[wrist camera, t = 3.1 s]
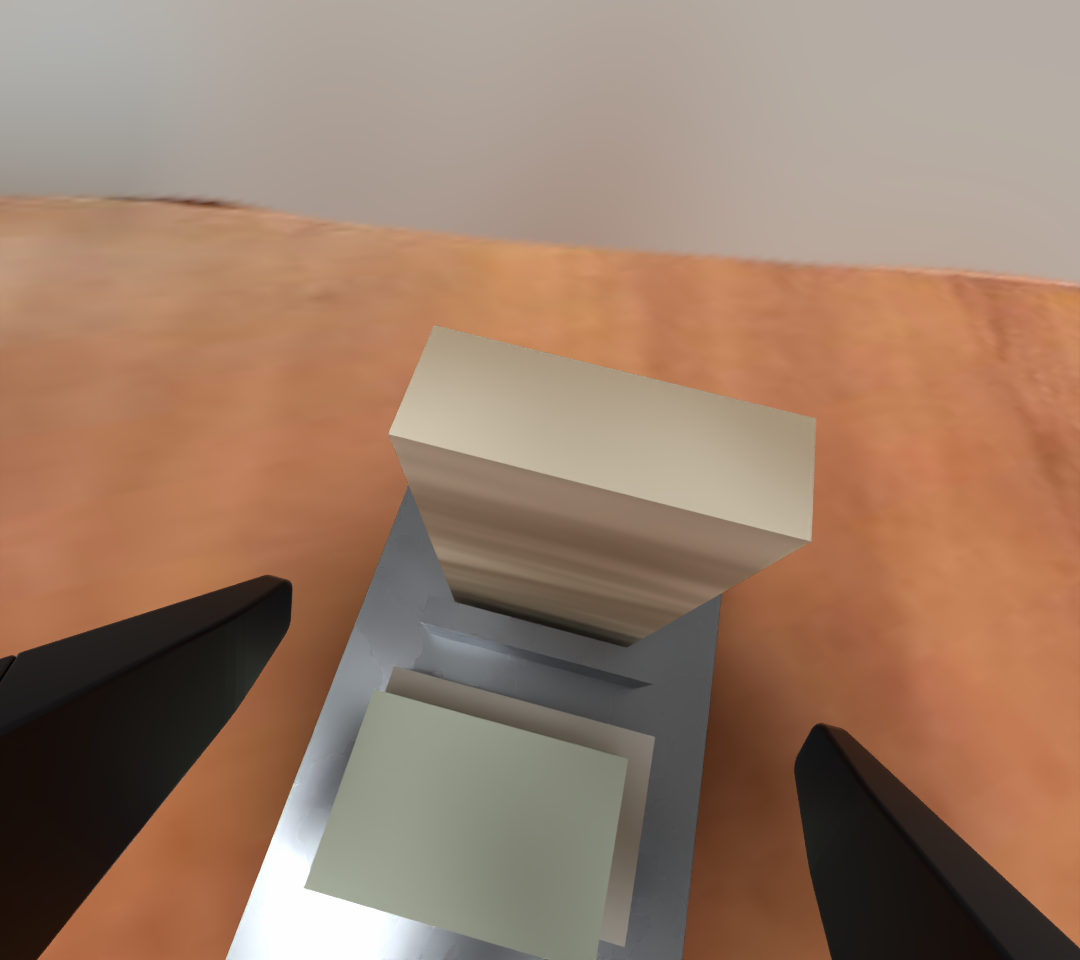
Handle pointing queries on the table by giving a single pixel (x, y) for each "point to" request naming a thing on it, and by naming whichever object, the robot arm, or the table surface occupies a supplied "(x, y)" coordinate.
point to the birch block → (595, 486)
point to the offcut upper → (474, 829)
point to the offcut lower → (568, 730)
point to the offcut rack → (510, 670)
